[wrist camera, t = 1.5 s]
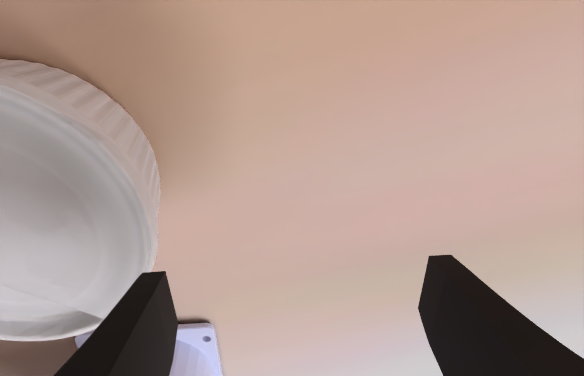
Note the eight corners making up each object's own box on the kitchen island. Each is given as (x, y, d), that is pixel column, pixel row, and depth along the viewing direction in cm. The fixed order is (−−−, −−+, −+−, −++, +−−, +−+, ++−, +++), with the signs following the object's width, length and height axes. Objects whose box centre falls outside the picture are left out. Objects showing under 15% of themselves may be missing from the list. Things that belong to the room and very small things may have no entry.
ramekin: (-26, 263, 20) (-108, 353, 16) (-150, 34, 15) (-333, 73, 10) (194, 255, 21) (175, 339, 16) (158, 33, 15) (115, 68, 11)
